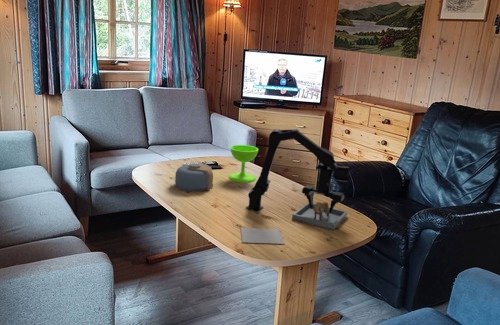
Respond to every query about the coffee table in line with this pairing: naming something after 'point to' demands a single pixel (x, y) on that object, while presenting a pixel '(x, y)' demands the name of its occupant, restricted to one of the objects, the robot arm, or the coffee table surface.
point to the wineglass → (243, 162)
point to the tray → (327, 221)
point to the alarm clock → (194, 177)
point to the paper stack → (261, 235)
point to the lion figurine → (320, 209)
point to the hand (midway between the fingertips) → (320, 210)
